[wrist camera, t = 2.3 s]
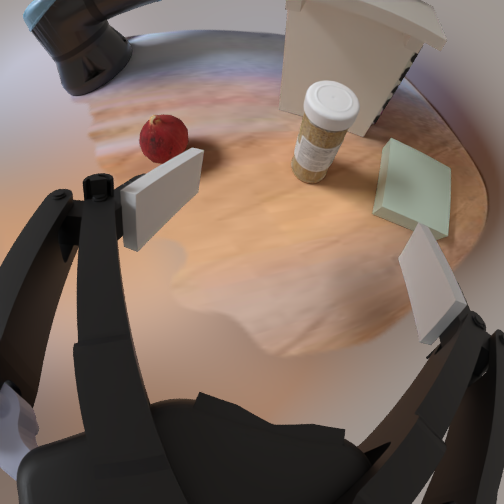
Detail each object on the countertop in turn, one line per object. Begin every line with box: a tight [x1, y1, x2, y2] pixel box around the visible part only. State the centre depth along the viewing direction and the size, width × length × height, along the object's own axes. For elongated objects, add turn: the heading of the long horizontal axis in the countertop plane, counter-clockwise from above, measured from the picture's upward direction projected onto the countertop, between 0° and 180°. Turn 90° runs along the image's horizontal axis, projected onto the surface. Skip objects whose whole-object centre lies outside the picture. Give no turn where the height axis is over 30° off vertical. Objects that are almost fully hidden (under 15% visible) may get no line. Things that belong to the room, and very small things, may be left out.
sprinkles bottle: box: [291, 81, 360, 183], centre depth 25 cm, size 5×5×14 cm
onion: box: [139, 115, 188, 164], centre depth 29 cm, size 6×6×8 cm
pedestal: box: [372, 138, 451, 240], centre depth 29 cm, size 10×10×3 cm
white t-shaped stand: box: [279, 0, 447, 137], centre depth 21 cm, size 12×7×22 cm, turn 72°
